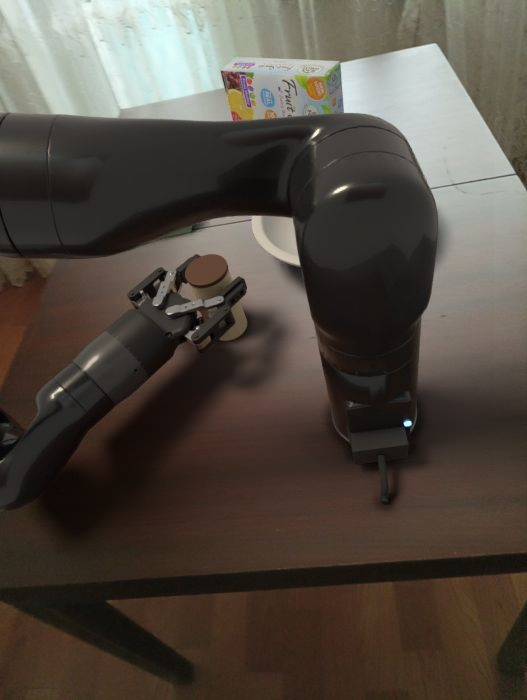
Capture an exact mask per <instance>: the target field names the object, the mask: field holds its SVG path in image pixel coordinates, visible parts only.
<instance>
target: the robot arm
mask: <svg viewBox="0 0 527 700" xmlns="http://www.w3.org/2000/svg"><path fill="white" fill-rule="evenodd" d="M252 216H274V217H286V218H293V224H294V231H295V238H296V245H297V251H298V257H299V262H300V267H299V268H300V271H301V276H302V281H303V285H304V290H305V294H306V298H307V303H308V309H309V314H310V317H311V320H312V322H313V326H314V331H315V336H316V341H317V347H318V351H319V357H320V363H321V366H322V371H323V376H324V381H325V386H326V391H327V396H328V397H327V398H328V401H329V405H330V406H329V407H330V412H331V415H330V416H331V420H332V424H333V427H334V429H335V431H336V433H337V434H338V435H339V436H340V437H341V439H342V440H344V442H346V443H347V444H349V446H350V448H351V452H352V456H353V463H354V465H362V464H370V463H371V464H372V463H377V465H378V473H379V480H380V481H379V482H380V494H379V495H380V503H381V504H385V505H387V504H389V477H388V469H387V461H395V460H403V459H408V458H409V447H410V445H411V434H412V433H413V431H414V430H415V427H416V424H417V419H418V408H417V407H418V406H417V405H418V404H417V403H418V385H419V383H418V382H419V365H420V350H421V349H420V348H421V335H422V317H423V314H424V313H425V311H426V310H427V308H428V306H429V303H430V301H431V297H432V293H433V284H434V278H435V277H434V276H435V270H436V269H435V268H436V261H437V253H438V246H439V245H438V244H439V243H438V242H439V211H438V206H437V202H436V199H435V196H434V194H433V191H432V189H431V187H430V185H429V182H428V180H427V178H426V176H425V174H424V172H423V169H422V167H421V164H420V162H419V160H418V158H417V156H416V154H415V153H414V150H413V148H412V146H411V145H410V143H409V141H408V139H407V138H406V136H405V135H404V134H403V133H402V131H400V129H398V127H396V126H395V125H394V124H392V123H391V122H389V121H387V120H385V119H384V118H381V117H379V116H375V115H372V114H368V113H361V112H360V113H359V112H344V113H330V114H316V115H304V116H292V117H279V118H266V119H254V120H237V121H233V120H194V119H193V120H191V119H178V118H177V119H176V118H149V117H148V118H146V117H145V118H144V117H143V118H142V117H106V116H105V117H104V116H89V115H88V116H86V115H76V114H64V113H38V112H37V113H35V112H0V257H2V258H9V259H10V258H11V259H27V260H28V259H31V260H33V259H35V260H38V259H43V260H87V259H88V260H89V259H99V258H107V257H111V256H117V255H119V254H123V253H127V252H129V251H132V250H135V249H137V248H141V247H143V246H147V245H148V244H150V243H153V242H155V241H158V240H161V239H164V238H166V237H165V236H167V235H170V234H172V233H175V232H177V231H179V230H182V229H184V228H187V227H190V226H192V227H193V226H195V225H198V224H201V223H203V222H204V223H205V222H207V221H211V220H215V219H221V218H223V219H224V218H229V217H232V218H233V217H252ZM163 237H164V238H163ZM201 256H202V255H200V254H198V253H195V254H194V255H192V256H190V257H188V258H187V259H186V260H185V261H183V263H181V264H180V265H179V266H178V267H177V268H175V269H174V268H172V269H169V270H166V269H165V268H164V267H162V266H160V267H156V269H154V270H153V271H152V272H151V273H150V274H148V276H146V277H145V278H144V279H143V280H141V281H140V282H139V283H138V284H137V285H135V286H134V287H133V288H132V289H131V290H129V292H127V293H126V297H127V298H128V300H129V302H130V303H131V305H132V306H133V307H134V308H133V307H132V308H129V309H128V310H127V311H126V312H124V313H123V314H122V315H121V316H120V317H118V318H117V319H116V320H115V321H114V322H113V323H111V324H110V325H109V326H108V327H106V329H104V330H103V331H102V332H101V333H100V334H98V335H97V336H96V337H94V339H92V340H91V341H90V342H88V344H87V345H85V347H84V348H82V350H81V351H80V352H79V353H78V354H77V355H76V356H75V357H74V358H73V359H72V360H71V361H70V362H69V363H68V364H66V366H64V367H63V368H62V369H61V370H59V371H58V372H57V373H56V374H55V375H53V376H52V377H51V378H50V379H49V380H48V381H46V382H45V383H44V384H43V385H42V386H41V387H40V388H39V390H38V391H37V392H36V393H35V397H34V403H35V406H36V411H37V413H36V416H35V417H34V419H33V420H32V421H31V423H29V425H28V426H27V428H24V426H22V425H21V424H20V422H18V420H16V419H15V418H14V417H13V416H12V415H11V414H9V412H7V411H6V410H5V409H3V408H2V407H1V406H0V512H10V511H11V512H12V511H15V510H18V509H21V508H24V507H26V506H29V504H32V503H33V502H34V501H36V500H37V499H39V498H40V497H41V496H42V495H44V494H45V493H46V492H47V491H48V490H49V489H50V488H51V487H52V485H53V484H54V483H55V481H56V480H57V479H58V477H59V476H60V474H61V473H62V471H63V470H64V468H65V467H66V465H67V464H68V463H69V461H70V460H71V458H72V457H73V455H74V454H75V453H76V451H77V450H78V447H80V445H81V443H82V442H83V440H84V438H85V436H86V435H87V434H88V433H89V431H90V430H91V429H93V428H94V427H95V426H96V425H97V424H99V422H101V421H102V420H103V419H104V418H106V416H107V415H108V414H109V413H111V412H112V411H113V409H115V408H116V407H117V406H118V405H119V404H121V403H122V402H124V401H125V400H126V399H128V398H129V397H130V396H132V395H133V394H134V393H135V392H137V390H138V389H139V388H141V387H142V386H143V385H144V384H145V383H146V382H147V381H148V380H149V379H151V378H152V377H153V376H154V375H155V374H156V373H157V372H158V371H159V370H160V369H162V367H164V365H166V363H168V362H169V361H170V360H172V358H173V357H174V356H175V353H176V350H177V349H178V347H179V346H180V345H182V344H184V343H186V342H187V343H189V344H191V345H192V346H194V347H195V350H196V351H197V353H199V354H205V353H206V352H207V351H208V350H209V349H210V348H212V347H213V346H214V344H216V343H217V342H218V341H220V340H219V339H220V338H221V337H222V336H223V335H224V334H225V333H226V332H227V331H228V330H229V329H230V328H231V327H232V326H233V325H234V324H235V322H236V321H235V319H234V316H233V313H232V311H231V308H232V307H233V306H234V305H235V304H236V303H237V302H238V301H239V300H240V301H241V300H242V299H243V298H244V297H245V296H246V294H247V291H248V285H247V282H246V279H245V278H243V277H241V276H239V275H238V276H236V278H234V279H232V280H233V281H232V282H231V283H230V284H229V285H228V286H227V287H226V288H225V289H224V290H222V291H221V292H220V293H219V296H217V297H214V298H211V299H208V300H203V299H198V300H196V299H195V300H190V299H189V298H186V297H183V296H182V295H181V291H182V288H183V284H184V285H187V284H189V283H188V282H187V280H186V278H185V271H186V268H187V267H188V265H189V264H190V263H191V262H192V261H193V260H195V259H196V258H198V257H201ZM157 281H158V283H156V282H157ZM155 283H156V284H155ZM154 284H155V285H154ZM215 307H217V309H215V310H212V311H208V310H209V309H212V308H215ZM198 312H199V313H200V315H201V316H199V317H198ZM223 320H224V321H223ZM222 321H223V322H222ZM221 322H222V323H221Z"/></svg>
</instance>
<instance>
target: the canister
mask: <svg viewBox="0 0 527 700" xmlns="http://www.w3.org/2000/svg"><path fill="white" fill-rule="evenodd" d="M200 256H201V257H198V258H196V259H195V260H193V261H192V262H191V263H190V264H189V265H188V267H187V268H186V271H185V278H186V280H187V282H188V283H187V284H188V285H189V286H190V289H191V291H192V293H193V295H194V297H195V300H198V299H203V300H208V299H211V298H214V297H217V296H219V293H220V292H221V291H222V290H224V289H225V288H226V287H227V286H228V285H229V284H230V283H231V282H232V281H233V280H234V279H233V277H232V275H231V273H230V269H229V265H228V261H227V260H226V258H225V257H223V256H221V255H220V254H215V253H208V254H203V255H200ZM215 309H217V307H215V308H212V309H209V310H208V311H212V310H215ZM231 311H232V313H233V316H234V319H235V321H236V322H235V324H234V325H233V326H232V327H231V328H230V329H229V330H228V331H227V332H226V333H225V334H224V335H223V336H222V337H221V338H220V339H219V340H218V341H223V342H228V341H232V340H235V339H237V338H240V337H241V336H242V335H243V334H244V332H245V331H246V330H247V327H248V320H247V317H246V314H245V311H244V308H243V306H242V303H241V299H240V300H239V301H238V302H237V303H236V304H235V305H234V306H233V307H232V308H231ZM223 321H224V320H223ZM223 321H222V322H223ZM222 322H221V323H222Z"/></svg>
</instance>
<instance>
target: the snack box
mask: <svg viewBox="0 0 527 700" xmlns="http://www.w3.org/2000/svg"><path fill="white" fill-rule="evenodd" d="M341 65H342V64H341V61H340V60H322V59H321V60H319V59H299V58H298V59H297V58H293V59H292V58H273V57H269V58H268V57H251V56H248V57H247V56H234V58H232V59H231V60H230V61H229V62H228V63H227V64H226V65H224V66H223V67H222V68H221V69H220V70H219V71H220V75H221V80H222V85H223V87H224V91H225V94H226V98H227V102H228V103H227V104H228V106H229V111H230V114H231V118H232V121H237V120H254V119H266V118H279V117H292V116H304V115H316V114H330V113H345V107H344V106H345V105H344V94H343V93H344V92H343V81H342V66H341Z"/></svg>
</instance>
